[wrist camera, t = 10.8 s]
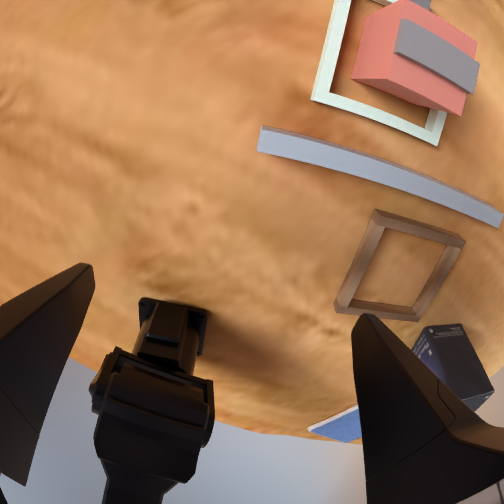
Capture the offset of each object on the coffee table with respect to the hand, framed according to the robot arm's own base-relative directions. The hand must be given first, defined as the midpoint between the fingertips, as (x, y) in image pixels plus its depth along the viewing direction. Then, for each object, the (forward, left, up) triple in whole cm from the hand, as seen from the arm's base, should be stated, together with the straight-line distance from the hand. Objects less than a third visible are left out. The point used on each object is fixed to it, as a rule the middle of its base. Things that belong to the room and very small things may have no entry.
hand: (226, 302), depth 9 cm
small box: (-16, -26, -13) cm, 33 cm away
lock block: (+11, -8, -13) cm, 19 cm away
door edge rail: (+3, -11, -13) cm, 18 cm away
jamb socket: (-5, -15, -13) cm, 20 cm away
